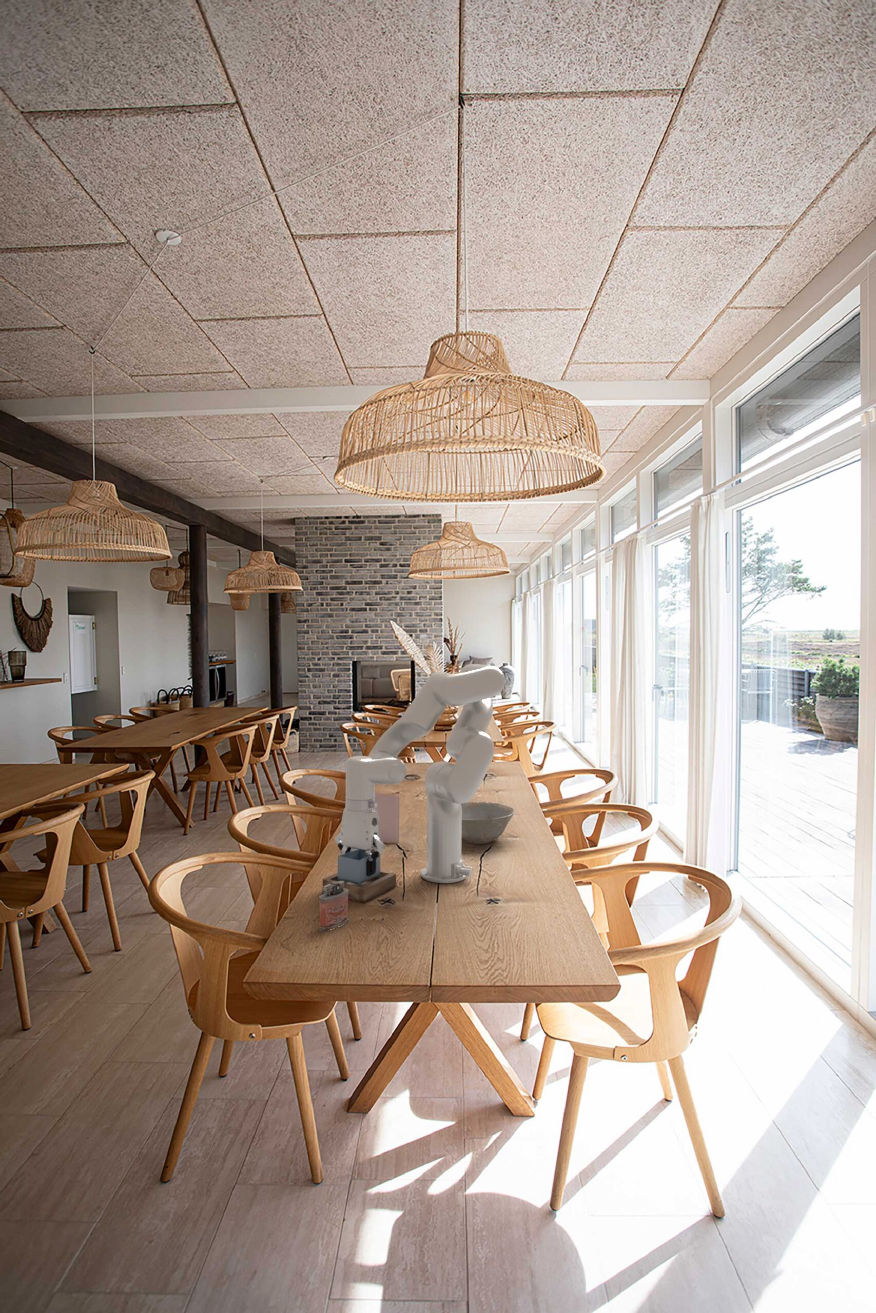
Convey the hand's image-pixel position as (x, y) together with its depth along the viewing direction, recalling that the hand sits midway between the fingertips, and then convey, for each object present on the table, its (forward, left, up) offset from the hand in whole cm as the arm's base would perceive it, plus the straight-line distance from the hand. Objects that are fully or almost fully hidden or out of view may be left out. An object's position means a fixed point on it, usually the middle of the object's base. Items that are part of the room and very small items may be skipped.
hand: (359, 871), depth 187 cm
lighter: (-9, +21, -5) cm, 23 cm away
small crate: (0, 0, -1) cm, 1 cm away
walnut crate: (0, 0, -5) cm, 5 cm away
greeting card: (+21, -37, -5) cm, 43 cm away
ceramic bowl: (-5, -56, -5) cm, 57 cm away
